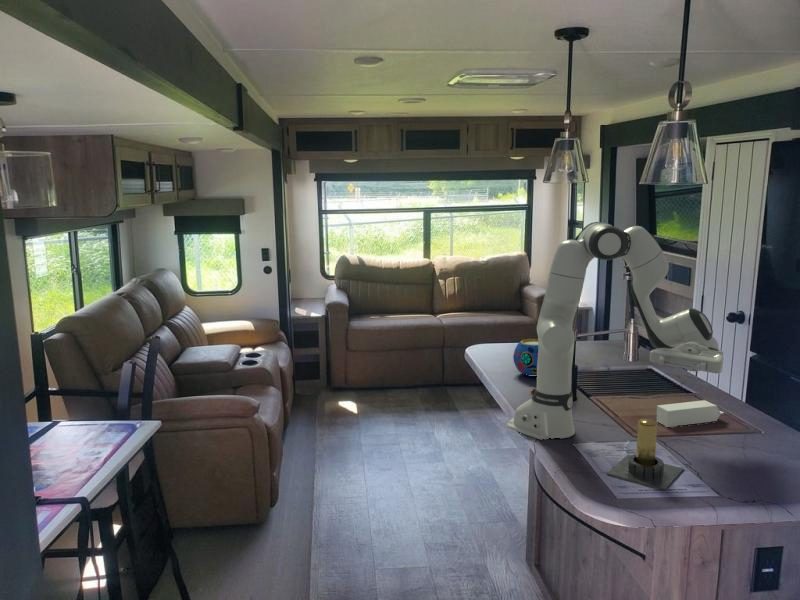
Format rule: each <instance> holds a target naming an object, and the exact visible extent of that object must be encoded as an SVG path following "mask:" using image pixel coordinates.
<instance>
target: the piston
mask: <svg viewBox="0 0 800 600" xmlns="http://www.w3.org/2000/svg"><path fill="white" fill-rule="evenodd" d="M657 430H658V422H657V420H654V419H651V418H641V419H639V420H638V422H637V433H636V434H637V438H636V453H635V454H636V463H638V464H641V465H647V466H652V465H655V457H657V456H656V454H657V453H656V452H657V436H658V435H657V434H658V432H657Z"/></svg>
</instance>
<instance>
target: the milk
mask: <svg viewBox="0 0 800 600" xmlns="http://www.w3.org/2000/svg"><path fill="white" fill-rule="evenodd" d="M656 407H657V408H656V423H658V422H659V423H661V424H663V425H665V426H666V428H667V427H671V426H677V425H687V424H695V423H703V422H711V421H716V422H717V421H718V420H719V418H720V416H721V414H724V411H722V410H720V409H719V408H718V405H716V404H714V403H711V402H709V401H707V400H706V399H704V400H695V401H686V402H678V403H677V402H676V403H668V404H659V405H657V406H656ZM659 423H658V424H659ZM661 424H660V425H661ZM663 425H662V426H663ZM665 426H664V427H665ZM671 428H672V427H671Z"/></svg>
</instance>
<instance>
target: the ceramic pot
mask: <svg viewBox="0 0 800 600" xmlns="http://www.w3.org/2000/svg"><path fill="white" fill-rule="evenodd" d="M512 358H513V363H514V366H515V367H516V369H517V371H518V372H519V373H521V374H522V373H523V374H522V375H524V374H527V375H537V362H538V338H527V339H522V340H520V341H519V342H518V343H517V344H516V346H515V348H514V352H513V356H512Z"/></svg>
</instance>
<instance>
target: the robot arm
mask: <svg viewBox="0 0 800 600" xmlns="http://www.w3.org/2000/svg"><path fill="white" fill-rule="evenodd" d="M594 258H595V259H598V260H601V261H611V260H615V259H617V258H622V260H624V261H625V264H626V265H627V266H628V268H629V270H630V271H631V275H632V280H631V282H630V284H629V286H630V293H631V295H632V299H633V301H634V303H635V306H636V308H637V311H638V313H639V315H640V317H641V320H642V323H643V325H644V327H645V330H646V334H647V338H648V340H649V343H650V345H651V346H652V348H654V349H651V350H650V352H649V361H650V362H651V363H653V364H658V365H659V366H661V367H662V366H671V367H677V368H682V369H684V370H685V371H689V372H706V373H712V374H721V373H722V372H723V367H724V366H723V365H724V350H721V349H719V343H718V341H717V339H716V338H715V337H714V336H713V334H714V333H713V332H714V330H713V326H712V324H711V322H710V320H709V319H708V317H707V316H706V314H705V313H704V312H701V311H700V310H698V309H696V308H692V307H691V308H688V309H685V310H682V311H680V312H677V313H675V314H671V315H670V316H668V317H664V318H659V317H658V315H657V313H656V311H655V308H654V306H653V303H652V301H651V298H650V295H651V293H652V292H653V291H654V290H655V289H656V288H657V287H658V286H660V284H661V283H662V282H663V281H664V279H665V278H666V277H667V275H668V272H669V269H670V263H669V261H668V258H667V257H666V254H665V252H664V251H663V249H662V248H661V246H660V245H659V244H658V241H656V239H655V238H654V237H653V236H652V235H651V233H650V232H649V231H648V230H647V229H645V227H643V226H641V225H640V226H639V225H634V226H630V227H627V228H625V229H624V230H621V229H620V228H618V227H616V226H614V225H612V224H610V223H607V222H600V221H595V222H590V223H589V224H587V225H585V227H583V228H582V229H581V231H580V232H579V233H578V234H577V236H575V238H574V239H566V240H564V241H562V242H560V243H559V244H558V246H557V248H556V250H555V253H554V255H553V258H552V261H551V266H550V269H549V273H548V278H547V284H546V288H545V294H544V297H543V300H542V304H541V308H540V312H539V314H538V315H539V316H538V319H537V324H536V333H537V339H538V362H537V377H536V387H535V388H533V389H532V390H530V391H529V396H531V398H529V399H528V400H526V401H525V402H524V403H522V404H520V405H519V406H518V407H517V408H516V409H515V412H514V416H513V417H512V418H511V419H510V420H508V421H507V423H506V428H507V429H510V430H512V431H515V432H518V433H521V434H524V435H526V436H529V437H532V438H534V439H538V440H543V439H544V440H549V438H551V439H552V440H554V438H560V439H565V438H567V439H568V438H571V437H572V436H574V435H575V434H576V430H575V426H574V422H573V421H574V420H573V414H572V413H573V412H572V408H573V390H572V375H573V374H572V371H573V370H572V368H573V361H574V360H573V359H574V350H575V332H574V330H573V322H574V319H575V315H576V312H577V309H578V306H579V304H580V301H581V297H582V293H583V288H584V283H585V279H586V274H587V268H588V267H589V264H590V262H591V261H592V260H594ZM678 346H679V347H678ZM676 347H678V348H677V349H674V348H676Z"/></svg>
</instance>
